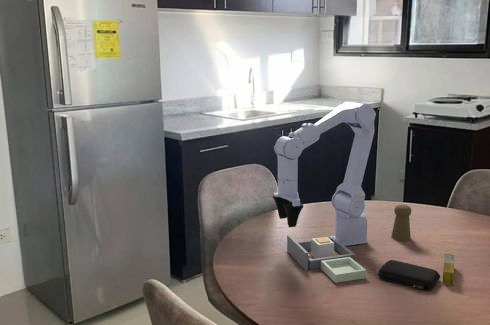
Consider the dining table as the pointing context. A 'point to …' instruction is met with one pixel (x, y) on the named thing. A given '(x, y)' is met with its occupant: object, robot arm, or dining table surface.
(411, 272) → the carrying case or bag
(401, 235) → the cork
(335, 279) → the bay
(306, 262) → the case
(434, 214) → the dining table surface
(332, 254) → the block
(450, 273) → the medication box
